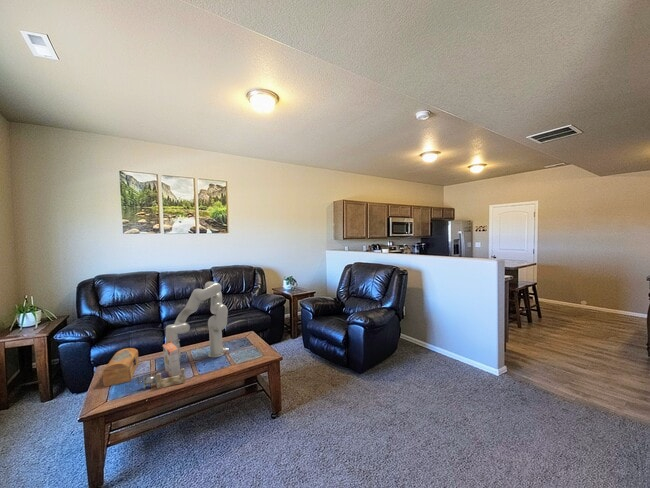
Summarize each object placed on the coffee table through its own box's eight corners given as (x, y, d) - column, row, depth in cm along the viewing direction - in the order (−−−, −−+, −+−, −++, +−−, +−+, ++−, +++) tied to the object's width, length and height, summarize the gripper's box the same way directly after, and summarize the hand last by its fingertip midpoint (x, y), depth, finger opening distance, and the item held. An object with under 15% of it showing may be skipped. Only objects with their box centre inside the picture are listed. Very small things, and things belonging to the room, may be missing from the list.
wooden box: (132, 381, 187) (131, 361, 187) (102, 387, 180) (100, 366, 180) (141, 363, 215) (140, 345, 214) (115, 367, 208) (114, 349, 207)
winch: (158, 383, 183) (157, 371, 183) (157, 386, 179) (156, 374, 179) (138, 388, 178) (138, 375, 178) (137, 391, 174) (136, 378, 174)
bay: (185, 375, 192) (184, 363, 192) (184, 382, 184) (184, 369, 183) (159, 381, 186) (158, 368, 185) (157, 388, 177) (156, 375, 177)
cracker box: (164, 372, 196) (162, 344, 193) (173, 368, 200) (171, 341, 197) (171, 380, 186) (169, 351, 183) (181, 376, 191) (178, 348, 188)
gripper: (183, 338, 207) (184, 362, 208) (160, 342, 201) (161, 367, 201) (183, 341, 200) (184, 367, 201) (159, 345, 194) (160, 371, 195)
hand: (172, 367), depth 201 cm, fingers closed
